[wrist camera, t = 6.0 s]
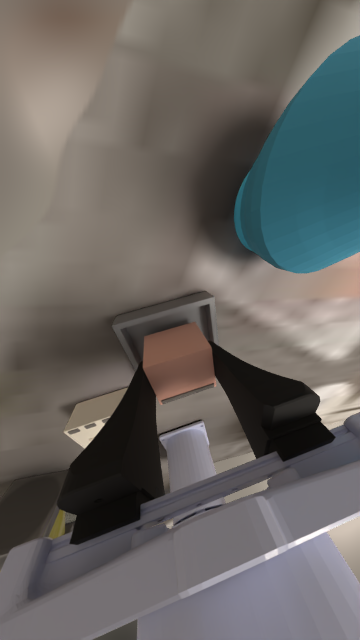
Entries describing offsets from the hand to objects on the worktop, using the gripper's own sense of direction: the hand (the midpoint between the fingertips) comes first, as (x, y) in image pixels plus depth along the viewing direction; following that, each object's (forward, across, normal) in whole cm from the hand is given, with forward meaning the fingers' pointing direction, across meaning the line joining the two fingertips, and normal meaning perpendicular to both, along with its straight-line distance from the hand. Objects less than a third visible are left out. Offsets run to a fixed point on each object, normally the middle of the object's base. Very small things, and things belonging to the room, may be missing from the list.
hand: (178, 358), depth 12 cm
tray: (+4, 0, 0) cm, 4 cm away
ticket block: (+4, +10, +10) cm, 15 cm away
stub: (+2, 0, 0) cm, 2 cm away
